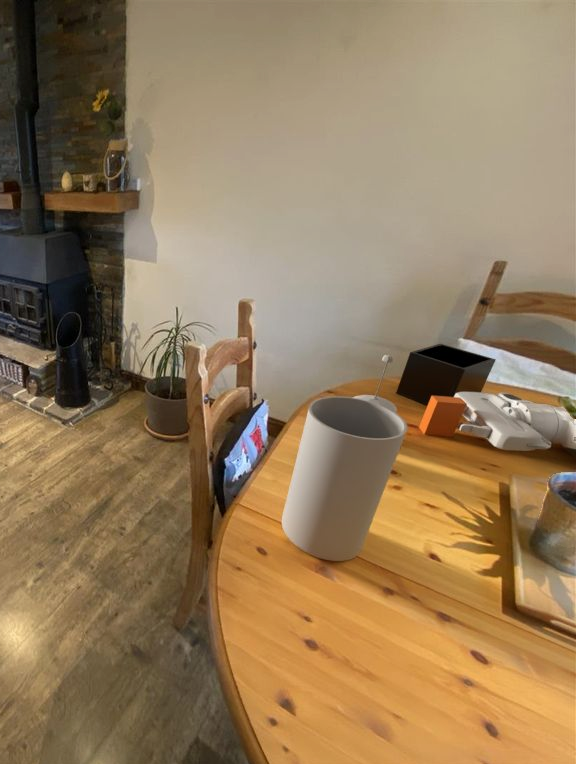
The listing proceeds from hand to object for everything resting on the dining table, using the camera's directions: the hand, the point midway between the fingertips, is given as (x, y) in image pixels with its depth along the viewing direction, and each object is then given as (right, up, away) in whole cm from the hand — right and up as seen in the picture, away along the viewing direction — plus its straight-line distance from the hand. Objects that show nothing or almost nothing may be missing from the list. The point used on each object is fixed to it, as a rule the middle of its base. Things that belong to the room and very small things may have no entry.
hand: (448, 415), depth 96 cm
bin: (+11, +4, +16) cm, 20 cm away
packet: (-1, -4, +3) cm, 5 cm away
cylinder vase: (-44, -20, -22) cm, 53 cm away
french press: (-25, -10, -4) cm, 27 cm away
